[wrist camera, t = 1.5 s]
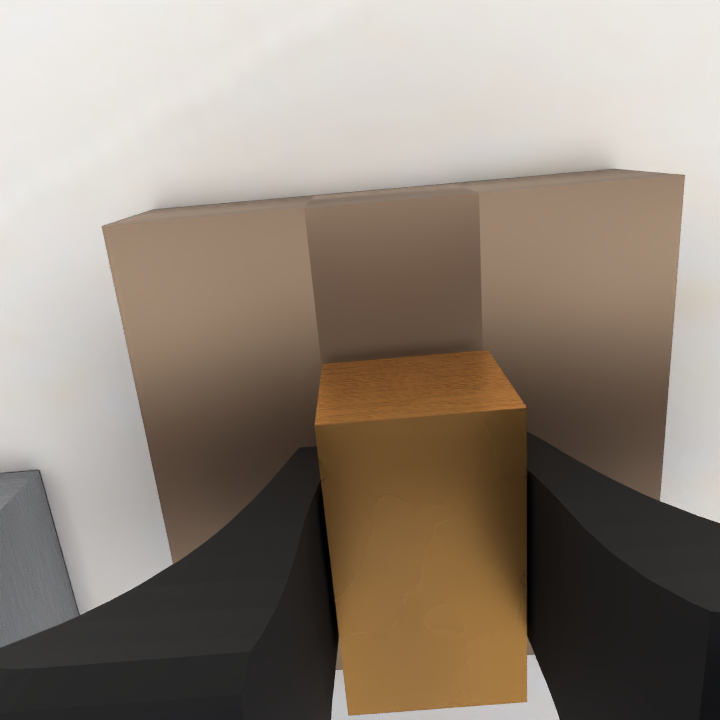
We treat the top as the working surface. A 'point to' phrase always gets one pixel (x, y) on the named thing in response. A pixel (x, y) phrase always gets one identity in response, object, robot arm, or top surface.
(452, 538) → the orange wooden block
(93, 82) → the top surface
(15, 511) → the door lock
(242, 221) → the holder
